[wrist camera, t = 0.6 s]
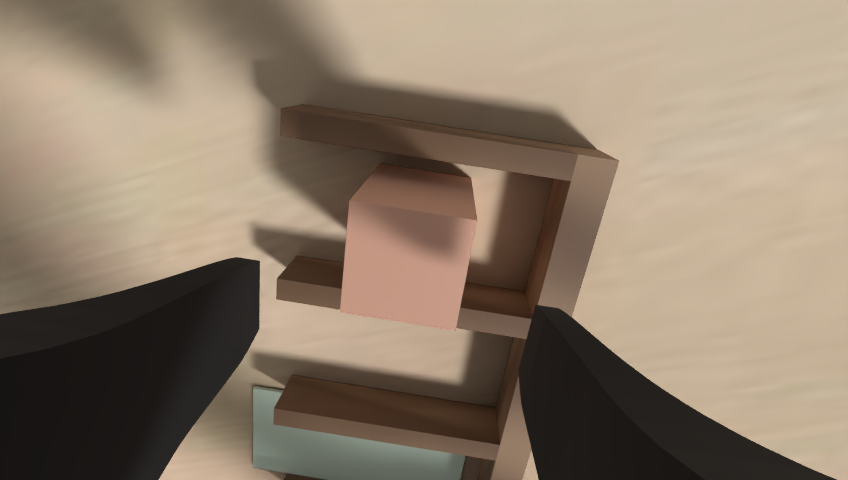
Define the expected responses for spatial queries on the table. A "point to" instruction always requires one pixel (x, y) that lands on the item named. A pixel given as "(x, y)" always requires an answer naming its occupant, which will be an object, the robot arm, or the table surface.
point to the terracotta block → (409, 246)
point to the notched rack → (479, 311)
